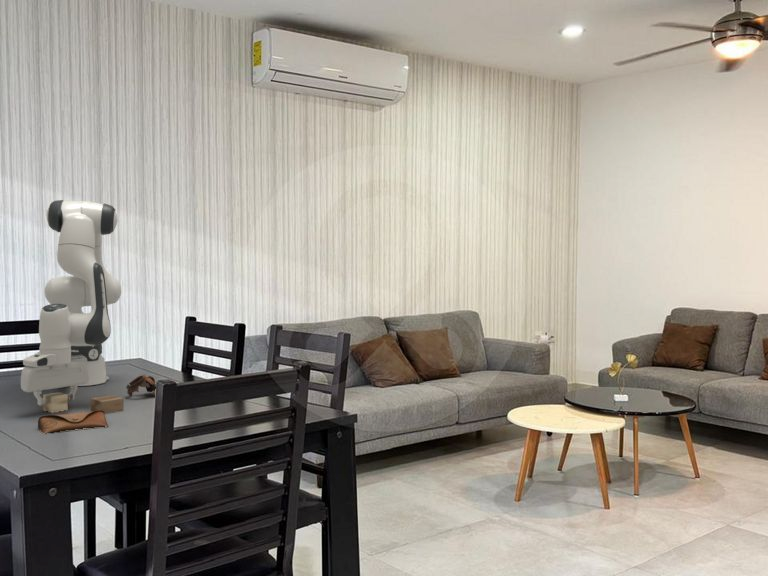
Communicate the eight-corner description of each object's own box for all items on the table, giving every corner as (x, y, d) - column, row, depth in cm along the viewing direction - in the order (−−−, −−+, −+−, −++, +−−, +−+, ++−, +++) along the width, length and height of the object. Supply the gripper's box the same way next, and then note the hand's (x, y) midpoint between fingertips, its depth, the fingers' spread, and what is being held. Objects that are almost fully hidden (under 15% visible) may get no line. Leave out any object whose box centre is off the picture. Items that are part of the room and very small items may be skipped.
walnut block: (90, 411, 234) (90, 398, 233) (111, 407, 239) (111, 395, 239) (102, 414, 229) (101, 401, 229) (123, 411, 234) (123, 398, 234)
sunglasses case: (42, 434, 204) (39, 411, 207) (39, 442, 209) (36, 419, 212) (111, 426, 214) (108, 404, 216) (107, 434, 219) (104, 412, 221)
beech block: (43, 410, 233) (43, 394, 233) (58, 408, 237) (58, 392, 236) (51, 413, 230) (51, 396, 229) (67, 410, 234) (67, 394, 233)
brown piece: (155, 401, 250) (142, 380, 248) (132, 412, 252) (118, 392, 250) (167, 385, 262) (154, 365, 260) (145, 396, 264) (132, 376, 261)
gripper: (81, 353, 242) (81, 396, 243) (17, 360, 226) (18, 406, 227) (92, 354, 238) (93, 398, 239) (28, 362, 222) (29, 409, 223)
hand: (56, 402), depth 233 cm, fingers open, 8 cm apart
